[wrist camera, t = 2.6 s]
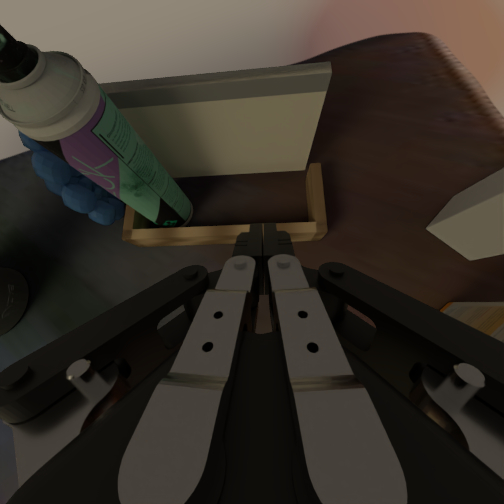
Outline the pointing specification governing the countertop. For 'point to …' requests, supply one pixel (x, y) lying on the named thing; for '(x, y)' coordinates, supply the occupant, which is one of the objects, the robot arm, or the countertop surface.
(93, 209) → the grapes
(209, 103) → the cream thin rectangular board
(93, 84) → the spray can
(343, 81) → the countertop surface
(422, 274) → the countertop surface
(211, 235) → the wooden u-shaped bracket
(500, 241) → the milk
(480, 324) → the supplement box
